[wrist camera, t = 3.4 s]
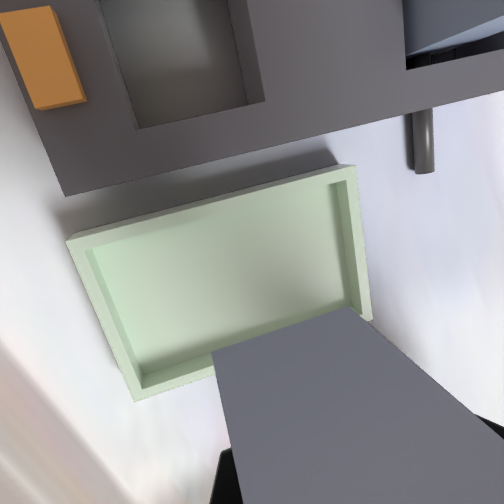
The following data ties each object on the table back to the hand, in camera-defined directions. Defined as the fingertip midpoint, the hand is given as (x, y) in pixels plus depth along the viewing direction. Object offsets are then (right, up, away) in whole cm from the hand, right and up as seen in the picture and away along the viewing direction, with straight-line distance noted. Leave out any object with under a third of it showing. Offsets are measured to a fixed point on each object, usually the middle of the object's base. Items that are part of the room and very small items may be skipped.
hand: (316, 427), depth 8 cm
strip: (0, +15, +8) cm, 16 cm away
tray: (-3, +3, +11) cm, 11 cm away
